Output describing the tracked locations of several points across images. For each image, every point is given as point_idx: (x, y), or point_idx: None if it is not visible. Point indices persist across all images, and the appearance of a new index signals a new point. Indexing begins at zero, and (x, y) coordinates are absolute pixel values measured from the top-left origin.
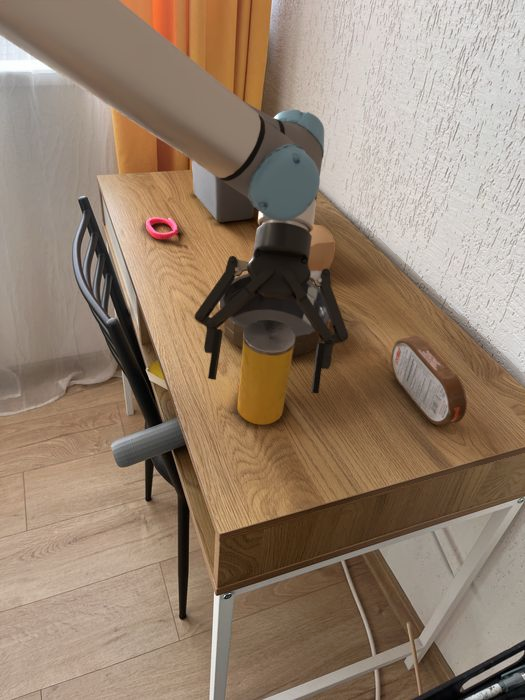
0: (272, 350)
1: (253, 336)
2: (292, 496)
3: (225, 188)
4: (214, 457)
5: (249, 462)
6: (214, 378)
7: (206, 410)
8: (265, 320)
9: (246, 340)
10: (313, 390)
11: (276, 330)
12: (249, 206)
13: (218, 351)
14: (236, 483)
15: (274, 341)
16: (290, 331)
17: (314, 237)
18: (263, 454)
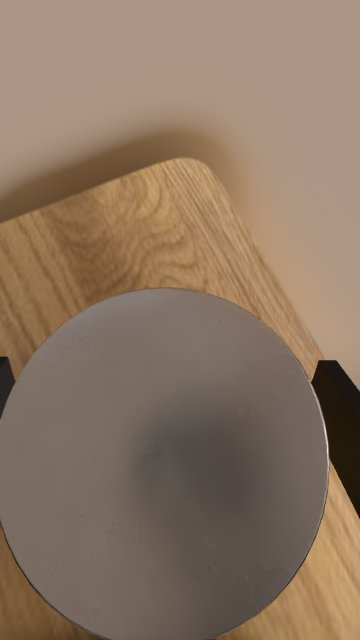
0: (138, 302)
1: (262, 406)
2: (94, 210)
3: None
4: (238, 267)
5: (173, 265)
6: (314, 376)
7: None
8: (209, 628)
9: (294, 360)
10: (2, 360)
11: (121, 511)
12: None
13: (357, 451)
14: (191, 221)
15: (130, 383)
16: (21, 524)
17: None
18: (149, 287)
